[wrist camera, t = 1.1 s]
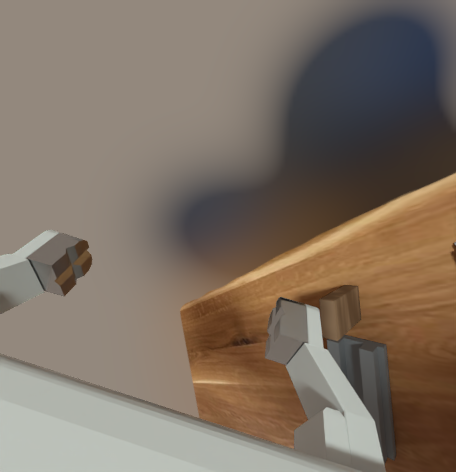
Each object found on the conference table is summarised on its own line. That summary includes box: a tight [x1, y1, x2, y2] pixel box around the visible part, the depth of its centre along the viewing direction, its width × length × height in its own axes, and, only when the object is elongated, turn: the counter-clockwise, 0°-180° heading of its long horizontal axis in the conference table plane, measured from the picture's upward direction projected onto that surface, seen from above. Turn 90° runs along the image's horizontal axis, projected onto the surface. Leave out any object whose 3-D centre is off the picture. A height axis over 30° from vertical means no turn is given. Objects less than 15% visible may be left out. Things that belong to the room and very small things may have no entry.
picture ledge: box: [327, 335, 396, 465], centre depth 45 cm, size 10×20×4 cm, turn 8°
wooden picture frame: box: [319, 285, 361, 341], centre depth 43 cm, size 3×6×11 cm, turn 8°
